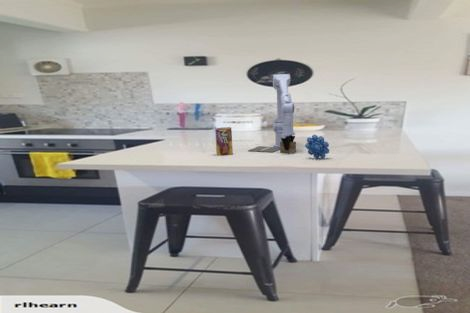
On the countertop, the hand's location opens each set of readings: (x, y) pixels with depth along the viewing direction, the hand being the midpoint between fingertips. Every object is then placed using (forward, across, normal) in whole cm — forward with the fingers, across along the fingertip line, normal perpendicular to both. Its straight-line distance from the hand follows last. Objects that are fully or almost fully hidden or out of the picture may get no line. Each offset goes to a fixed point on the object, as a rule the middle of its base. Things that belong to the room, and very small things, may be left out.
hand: (288, 149), depth 185 cm
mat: (+2, +5, +16) cm, 17 cm away
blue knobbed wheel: (+2, -13, -20) cm, 24 cm away
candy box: (+2, -16, +32) cm, 36 cm away
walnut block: (+2, 0, 0) cm, 2 cm away
